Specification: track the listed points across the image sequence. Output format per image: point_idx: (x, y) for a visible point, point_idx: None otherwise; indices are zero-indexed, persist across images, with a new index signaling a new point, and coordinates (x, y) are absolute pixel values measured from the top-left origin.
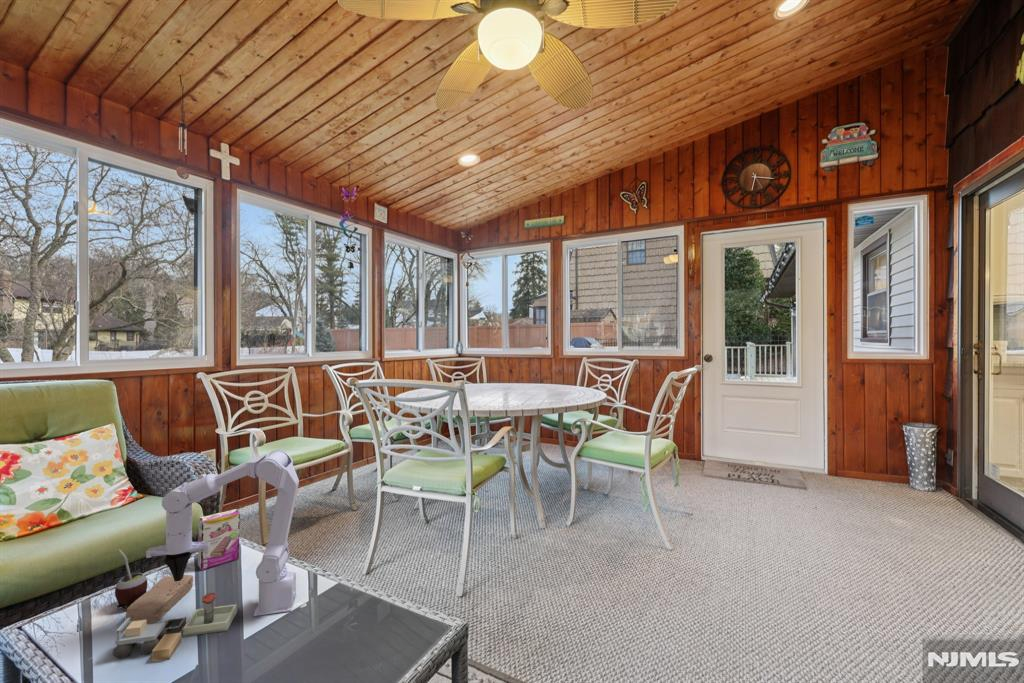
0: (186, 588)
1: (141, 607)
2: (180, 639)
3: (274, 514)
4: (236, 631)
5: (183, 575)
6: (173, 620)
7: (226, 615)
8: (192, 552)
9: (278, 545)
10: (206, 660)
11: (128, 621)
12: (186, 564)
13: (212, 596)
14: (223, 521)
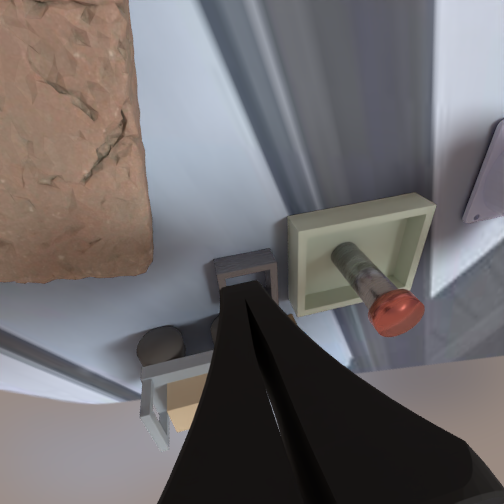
0: None
1: (65, 277)
2: (295, 323)
3: None
4: (415, 276)
5: (262, 286)
6: (238, 274)
7: (390, 224)
8: (455, 436)
9: None
10: (364, 349)
11: (154, 416)
12: (314, 347)
13: (413, 319)
14: None
